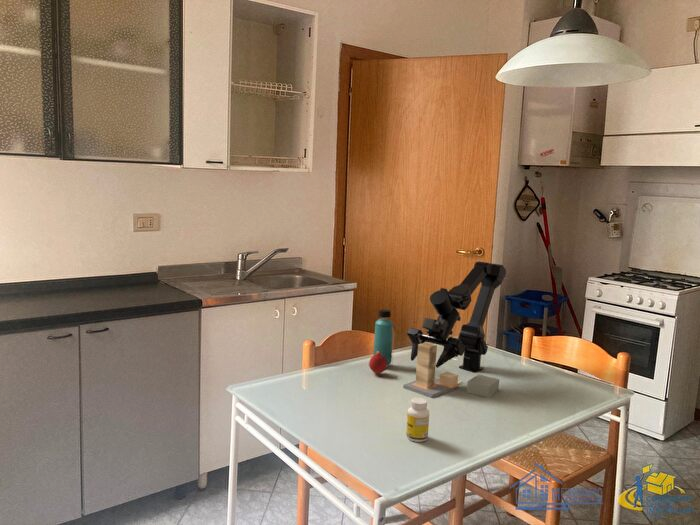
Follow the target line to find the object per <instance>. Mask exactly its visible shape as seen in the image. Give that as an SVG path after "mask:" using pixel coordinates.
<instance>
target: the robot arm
mask: <svg viewBox="0 0 700 525" xmlns="http://www.w3.org/2000/svg"><path fill="white" fill-rule="evenodd" d="M506 274H507V270H506V268H505V267H504V264H499V263H492V262H485V261H480V260H479V261H476V262H474V265H473V267H472V269H471V270H470V271H469V273H468V274H467V275H466V276H465V278H464V279H463V280H462V281H461V283H459V284H458V285H455V286H453V287H451V288H450V289H449V290H448V289H447V288H444V287H440V290H437V291H435V292H433V293H432V294H431V295H430V296H429V302H430V303H431V305H432V308H434V310H435V312H436V314H438V317H437V318H436V319H435V318H429V317H424V319H423V323H422V326H421V328H423V329H426V330H425V332H426V334H428V335H426V334H425V333H423V331H422V330H421V329H419V328H415V327H410V328H409V329H408V330H407V333H406V335H407V336H408V338H409V340H410V341H411V351H410V361H412V362H414V360H415V359H417V355H418V344H421V343H424V342H427V343H431V344H435V345H437V346H442V347H443V350H442V352H441V354H440V356H438V357H439V358H438V360H436V366H435V368H437V369H438V368H440V367H441V366H443V365H444V364H446V363H447V362H448V361H450V360H452V359H454V358H457V357H458V356H461V357H463V358H462V360H463V361H462V365H459V366H458V368H460V369H461V370H466V371H469V372H472V373H476V372H480V371H482V370H484V369H485V367H484V366H481V363H482V362H481V361H482V355H483V356H486V354H487V352H488V349H489V347H488V345H487V343H486V341H485V338H486V337H485V336H486V334H485V330H484V325H485V322H486V318H487V315H488V312H489V308H490V307H491V306H490V305H491V302H492V299H493V296H494V293H495V290H496V289H497V288H498V287H499V286H501V285H502V283H503V280H504V278H505V277H506ZM479 285H480V288H479V291H478V294H477V297H476V301H475V304H474V306H473V310H472V313H471V316H470V319H469V321H468V322H467V323H466V324H462V325H461V329H460V332H459V334H458V337H453V336H451V335H453V334H454V332H453V329H454V327H455V324H456V322H457V321H459V322H460V321H461V319H462V318H461V316H460V312H459V311H458V310H460V311H466V310H467V309H468V307H469V306H470V304H471V302H472V295H473V293H474V292H475V290H476V289H477V288H478V286H479Z"/></svg>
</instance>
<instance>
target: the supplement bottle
mask: <svg viewBox="0 0 700 525" xmlns="http://www.w3.org/2000/svg"><path fill="white" fill-rule="evenodd" d="M427 407H428V401H427V400H426V398H421V397H413V398H411V400H410V407H409V408H408V409H407V418H406V435H405V436H406V438H407V440H409V441H411V442H414V441H415V443H424V442H425V441H427V440H428V437H429V423H430V410H429V409H428V408H427Z"/></svg>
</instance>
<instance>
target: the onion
mask: <svg viewBox="0 0 700 525" xmlns="http://www.w3.org/2000/svg"><path fill="white" fill-rule="evenodd" d="M368 366H369V368H370V370H371V371H372V372H373V373H374V374H375V375H377V376H378V375H380V374H382V373H383V372H384V371H386V369H387V366H388V365H387V361H386V359H385V357H384V356H383V355H382V354H380V352H379V351H377V353H376V354H375V355H374V354H373V355H372V356H371V357H370V359H369V362H368Z"/></svg>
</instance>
